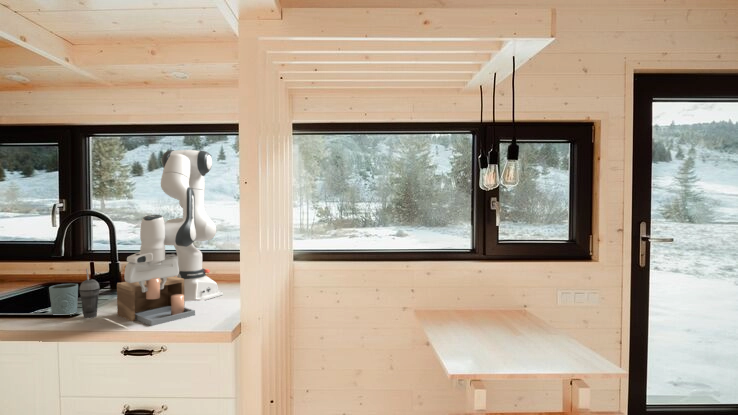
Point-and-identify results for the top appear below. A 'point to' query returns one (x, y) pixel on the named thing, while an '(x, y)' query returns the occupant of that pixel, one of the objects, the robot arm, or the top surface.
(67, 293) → the teal cup
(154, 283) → the peach rounded capsule
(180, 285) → the open wooden box
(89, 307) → the beverage cup
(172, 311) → the peach glossy rounded part
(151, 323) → the tray
